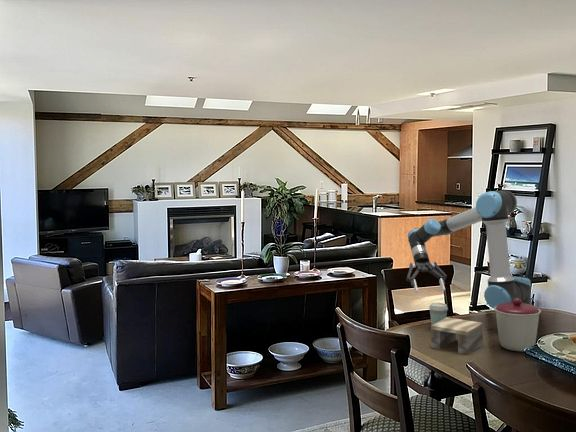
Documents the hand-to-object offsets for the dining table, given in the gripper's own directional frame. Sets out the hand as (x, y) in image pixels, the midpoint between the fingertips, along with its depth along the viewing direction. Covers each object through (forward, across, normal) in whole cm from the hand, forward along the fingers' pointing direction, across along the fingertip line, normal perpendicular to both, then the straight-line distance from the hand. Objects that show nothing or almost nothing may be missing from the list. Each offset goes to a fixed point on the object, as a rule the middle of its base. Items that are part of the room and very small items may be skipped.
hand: (430, 291), depth 270 cm
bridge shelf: (+36, 0, +14) cm, 39 cm away
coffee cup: (+19, 0, -4) cm, 19 cm away
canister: (+41, -23, +19) cm, 50 cm away
